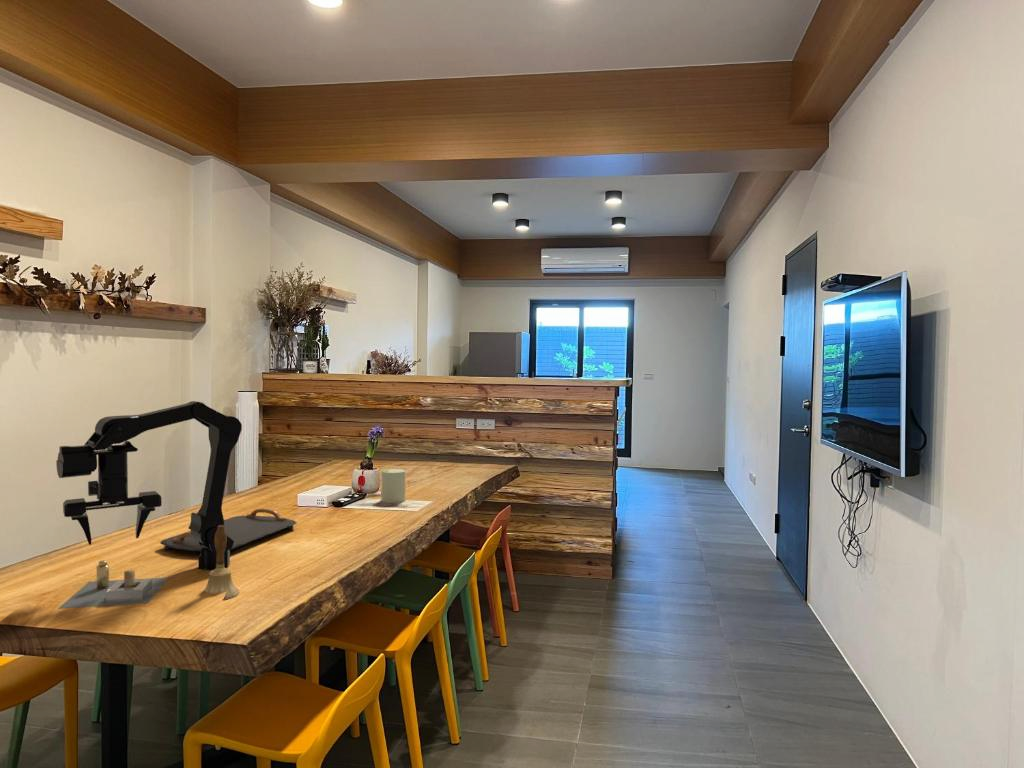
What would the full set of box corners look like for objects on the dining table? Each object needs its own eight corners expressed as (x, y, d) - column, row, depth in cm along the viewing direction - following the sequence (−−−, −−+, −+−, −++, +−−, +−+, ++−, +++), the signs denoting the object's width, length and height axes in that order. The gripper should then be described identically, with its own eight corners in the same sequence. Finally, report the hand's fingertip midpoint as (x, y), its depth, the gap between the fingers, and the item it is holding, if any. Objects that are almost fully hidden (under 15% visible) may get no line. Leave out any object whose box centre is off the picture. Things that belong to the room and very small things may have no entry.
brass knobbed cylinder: (110, 585, 152) (110, 559, 152) (106, 589, 150) (106, 562, 150) (98, 586, 152) (98, 560, 152) (95, 589, 149) (94, 563, 149)
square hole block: (151, 589, 150) (151, 578, 150) (142, 600, 143) (142, 589, 143) (117, 591, 148) (117, 580, 148) (106, 603, 142) (106, 591, 142)
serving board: (219, 562, 177) (219, 539, 177) (149, 554, 183) (149, 531, 183) (304, 528, 214) (304, 509, 214) (243, 522, 221) (243, 503, 220)
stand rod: (136, 594, 147) (136, 569, 147) (133, 597, 145) (133, 572, 145) (126, 595, 147) (125, 570, 146) (123, 598, 145) (122, 573, 144)
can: (379, 498, 259) (380, 467, 259) (403, 497, 262) (403, 467, 261) (382, 503, 250) (382, 471, 250) (407, 502, 253) (407, 471, 253)
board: (169, 583, 159) (169, 577, 159) (147, 609, 142) (147, 602, 142) (89, 588, 155) (89, 581, 155) (57, 615, 138) (57, 608, 138)
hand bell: (244, 588, 156) (245, 521, 156) (231, 601, 148) (231, 530, 148) (208, 588, 156) (209, 520, 156) (193, 601, 148) (193, 530, 147)
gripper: (153, 464, 162) (154, 527, 163) (61, 471, 151) (62, 539, 152) (161, 470, 154) (162, 537, 154) (64, 479, 142) (65, 551, 143)
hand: (113, 541), depth 151 cm, fingers open, 9 cm apart
